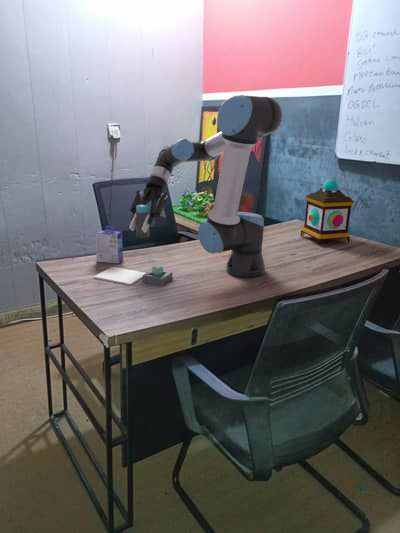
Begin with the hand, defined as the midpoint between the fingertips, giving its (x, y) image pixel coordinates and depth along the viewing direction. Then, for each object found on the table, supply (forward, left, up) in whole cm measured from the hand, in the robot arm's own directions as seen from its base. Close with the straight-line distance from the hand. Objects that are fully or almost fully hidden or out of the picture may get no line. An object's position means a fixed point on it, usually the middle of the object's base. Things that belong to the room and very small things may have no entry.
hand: (137, 229), depth 164 cm
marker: (0, -4, -3) cm, 5 cm away
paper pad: (+2, +9, -16) cm, 19 cm away
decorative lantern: (-59, -79, -16) cm, 100 cm away
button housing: (-12, +6, -16) cm, 21 cm away
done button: (-12, +6, -14) cm, 20 cm away
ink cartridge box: (+16, -4, -16) cm, 23 cm away
